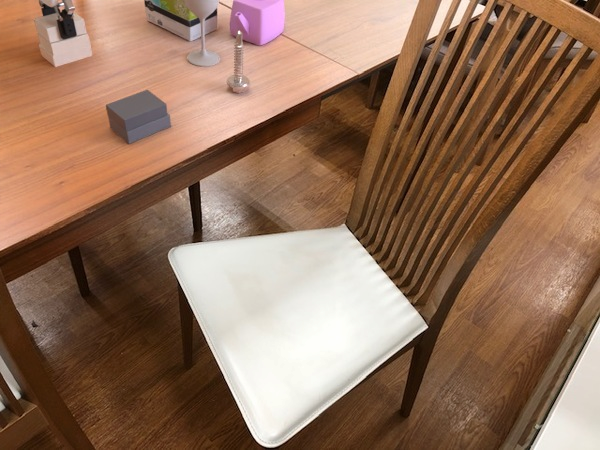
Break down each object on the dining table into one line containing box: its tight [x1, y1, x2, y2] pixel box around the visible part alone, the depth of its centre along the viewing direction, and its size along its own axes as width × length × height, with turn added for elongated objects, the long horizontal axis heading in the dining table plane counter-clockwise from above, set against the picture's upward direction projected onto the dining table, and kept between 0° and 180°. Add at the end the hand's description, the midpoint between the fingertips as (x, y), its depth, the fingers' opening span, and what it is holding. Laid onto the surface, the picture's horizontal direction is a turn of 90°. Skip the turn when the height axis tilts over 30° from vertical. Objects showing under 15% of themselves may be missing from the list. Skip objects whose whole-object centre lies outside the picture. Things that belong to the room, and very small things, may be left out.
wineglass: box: [184, 0, 221, 68], centre depth 107 cm, size 8×8×21 cm
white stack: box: [36, 32, 94, 68], centre depth 108 cm, size 8×6×5 cm
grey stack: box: [105, 89, 172, 145], centre depth 93 cm, size 9×6×5 cm
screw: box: [226, 30, 251, 94], centre depth 102 cm, size 13×5×5 cm
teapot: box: [229, 0, 286, 46], centre depth 122 cm, size 18×10×10 cm, turn 150°
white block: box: [33, 11, 88, 43], centre depth 105 cm, size 8×6×3 cm
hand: (61, 30), depth 105 cm, fingers closed on white block, 5 cm apart
